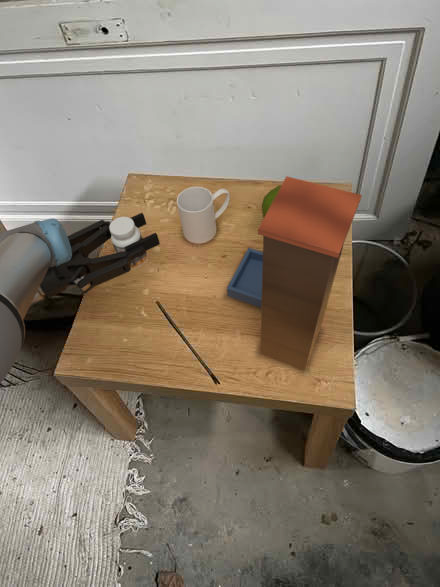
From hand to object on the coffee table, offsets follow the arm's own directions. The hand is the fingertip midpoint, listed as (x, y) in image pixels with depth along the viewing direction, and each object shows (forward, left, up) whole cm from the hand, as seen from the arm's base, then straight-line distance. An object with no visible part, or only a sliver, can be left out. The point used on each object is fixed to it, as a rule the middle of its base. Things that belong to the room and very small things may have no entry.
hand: (150, 228), depth 82 cm
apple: (+21, -22, -14) cm, 33 cm away
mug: (+15, -4, -14) cm, 21 cm away
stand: (-6, -32, -14) cm, 35 cm away
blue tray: (+5, -22, -14) cm, 26 cm away
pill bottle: (-4, +3, -6) cm, 8 cm away
